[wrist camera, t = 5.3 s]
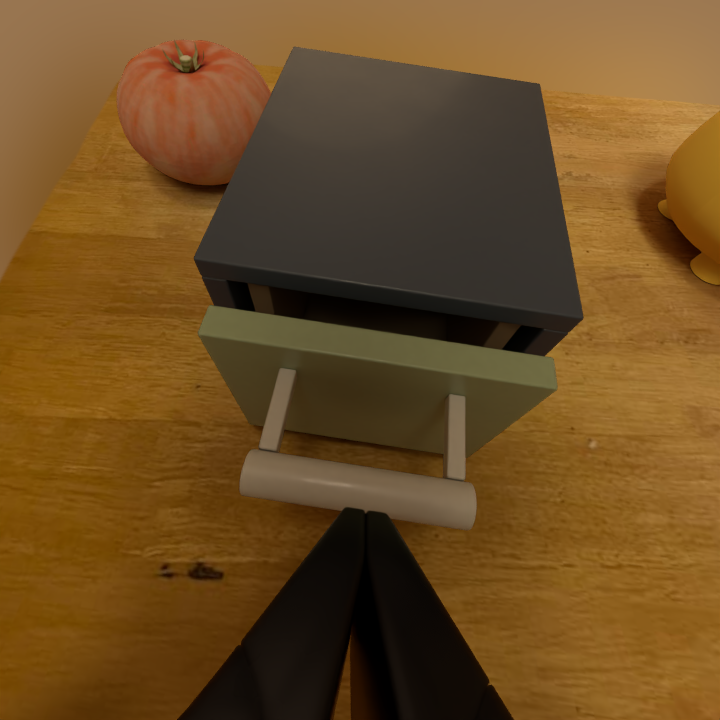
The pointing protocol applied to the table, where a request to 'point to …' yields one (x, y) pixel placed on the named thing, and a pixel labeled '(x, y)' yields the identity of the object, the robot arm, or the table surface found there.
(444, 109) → the cabinet
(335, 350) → the drawer
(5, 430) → the table surface
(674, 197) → the teapot
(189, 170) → the tomato
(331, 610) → the robot arm
